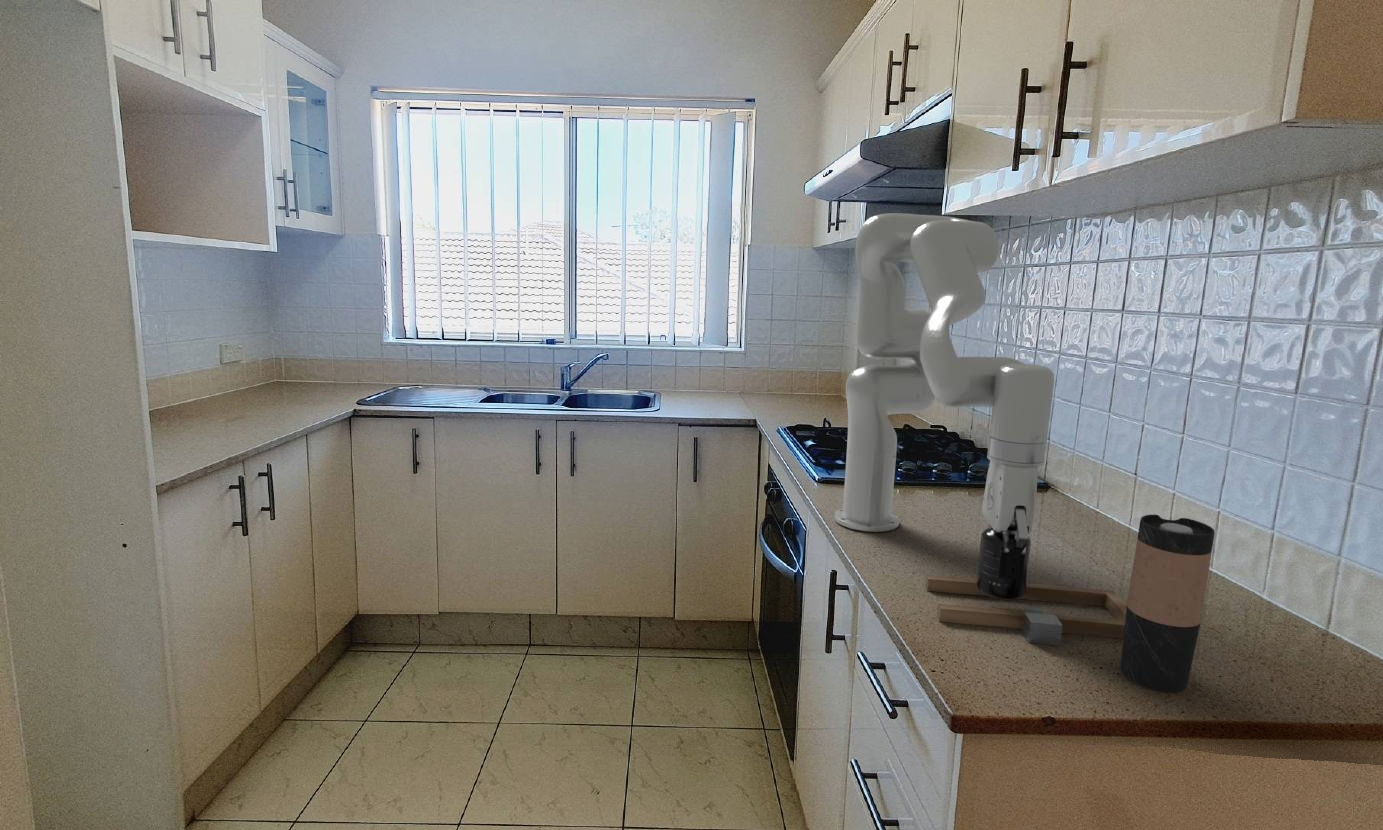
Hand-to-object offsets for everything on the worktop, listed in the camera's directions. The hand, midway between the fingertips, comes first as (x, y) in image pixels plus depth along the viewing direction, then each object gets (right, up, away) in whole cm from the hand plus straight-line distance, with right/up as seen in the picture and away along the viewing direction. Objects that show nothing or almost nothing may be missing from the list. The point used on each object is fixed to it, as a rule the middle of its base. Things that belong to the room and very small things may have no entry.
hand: (1002, 566), depth 106 cm
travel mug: (+12, -10, -17) cm, 23 cm away
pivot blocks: (+3, -7, +1) cm, 7 cm away
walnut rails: (+3, -7, +1) cm, 7 cm away
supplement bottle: (0, -4, +1) cm, 4 cm away
